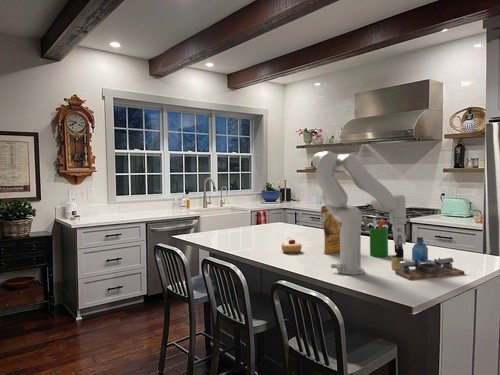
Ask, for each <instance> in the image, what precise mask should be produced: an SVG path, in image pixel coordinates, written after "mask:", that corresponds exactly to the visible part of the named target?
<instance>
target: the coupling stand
mask: <svg viewBox="0 0 500 375" xmlns="http://www.w3.org/2000/svg"><path fill="white" fill-rule="evenodd" d="M394 272H395V275H396V276H399V277H401V278H404V279H406V280H407V281H410V280H411V281H412V280H423V279H431V278H432V279H433V278H442V277H453V276H462V275H463V276H464V275H465V270H462V269H458V268H455V267H453V266H452V269H446V268H444V267H443V265H442V266H439V265H436V264H434V263H433V262H426V263H425V262H423V263H421V268H416V267H414V269H413V268H412V269H411V268H410V273H404V272H402V271H401V270H394Z"/></svg>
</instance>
